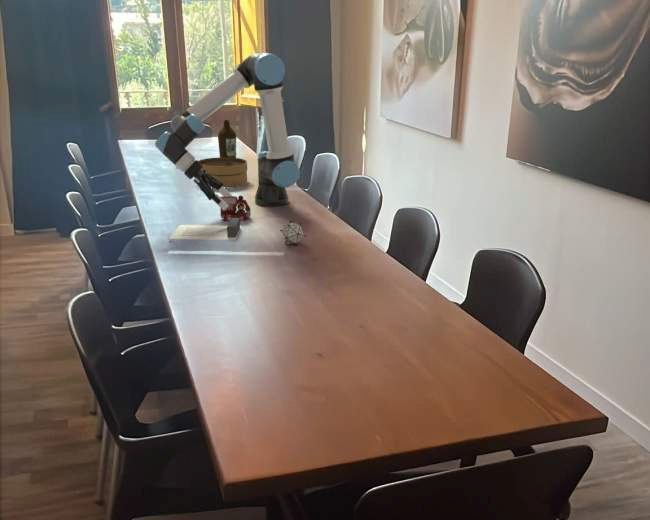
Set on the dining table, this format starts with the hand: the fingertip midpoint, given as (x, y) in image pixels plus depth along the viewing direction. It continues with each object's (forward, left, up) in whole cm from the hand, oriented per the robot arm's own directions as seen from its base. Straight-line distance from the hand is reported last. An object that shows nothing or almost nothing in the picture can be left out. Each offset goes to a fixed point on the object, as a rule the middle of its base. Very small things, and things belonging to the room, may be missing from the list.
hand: (229, 203), depth 249 cm
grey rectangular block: (-4, +19, -6) cm, 20 cm away
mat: (+6, +19, -7) cm, 21 cm away
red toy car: (-2, 0, -7) cm, 8 cm away
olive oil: (+20, -123, -7) cm, 125 cm away
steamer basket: (+14, -70, -8) cm, 71 cm away
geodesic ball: (-27, +28, -7) cm, 39 cm away
